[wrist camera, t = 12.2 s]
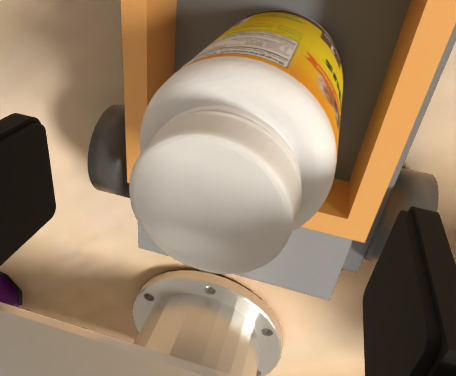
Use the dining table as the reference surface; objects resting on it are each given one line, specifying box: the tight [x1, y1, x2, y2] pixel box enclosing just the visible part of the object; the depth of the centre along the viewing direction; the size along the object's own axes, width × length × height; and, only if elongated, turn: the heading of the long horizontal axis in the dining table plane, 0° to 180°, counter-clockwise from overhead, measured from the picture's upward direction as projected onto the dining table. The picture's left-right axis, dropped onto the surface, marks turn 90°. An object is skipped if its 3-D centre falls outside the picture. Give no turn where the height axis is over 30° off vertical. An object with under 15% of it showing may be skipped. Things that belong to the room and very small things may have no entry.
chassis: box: [88, 0, 456, 300], centre depth 18 cm, size 20×17×6 cm
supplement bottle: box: [129, 10, 343, 274], centre depth 13 cm, size 6×6×10 cm
